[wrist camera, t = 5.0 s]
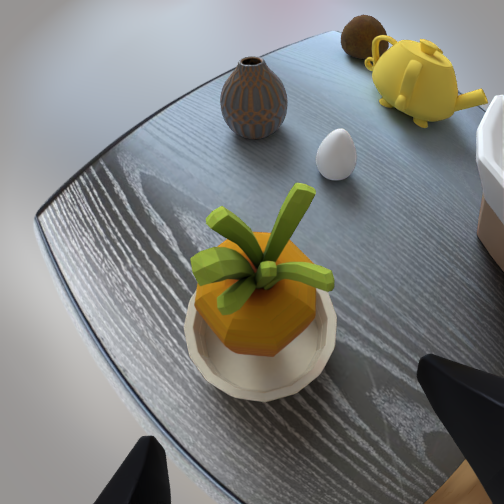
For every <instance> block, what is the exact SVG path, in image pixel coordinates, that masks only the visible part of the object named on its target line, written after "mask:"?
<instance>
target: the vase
mask: <svg viewBox="0 0 504 504" xmlns="http://www.w3.org/2000/svg"><path fill="white" fill-rule="evenodd" d="M220 104H221V111H222V115H223V117H224V120H225V122H226V123H227V125H228V126H229V127H230V129H231V130H232V131H233V132H235V133H236V134H238V135H240V136H242V137H245V138H248V139H261V138H264V137H267V136H269V135H271V134H273V133H274V132H275V131H276V130H277V129H279V127H280V126H281V124H282V123H283V121H284V119H285V116H286V112H287V94H286V91H285V88H284V85H283V83H282V82H281V80H280V79H279V78H278V77H277V75H276V74H275V73H274V72H273V71H272V70H270V69H269V68H268V66H267V65H266V63H265V61H264V60H263V59H262V58H260V57H245V58H243V59H241V60H240V61H239V62H238V65H237V67H236V69H235V70H234V72H233V73H232V74H231V75H230V76H229V78H228V79H227V80H226V82H225V84H224V86H223V89H222V92H221V99H220Z"/></svg>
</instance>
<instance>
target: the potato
mask: <svg viewBox="0 0 504 504" xmlns="http://www.w3.org/2000/svg"><path fill="white" fill-rule="evenodd" d="M380 35H386V36H387V34H386V31H385V29H384V28H383V26H382V25H381V23H380V22H379V21H378V20H376V19H375V18H374V17H372V16H368V15H361V16H357V17H354V18H353V19H352V20H351V21H350V22H349V23H348V24H347V25H346V26H345V27H344V29H343V32H342V34H341V45H342V48H343V50H344V51H345V52H346V53H347V54H348V55H350V56H352V57H355V58H359V59H367V58H368V57H372V58H373V56H372V42H373V40H374V38H375V37H377V36H380ZM388 47H389V43H388V41H385V40H381V41H380V42H379V57H381V56H382V54H383V53H384V52H386V51H387V49H388Z"/></svg>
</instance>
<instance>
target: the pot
mask: <svg viewBox="0 0 504 504" xmlns="http://www.w3.org/2000/svg"><path fill="white" fill-rule="evenodd" d="M196 291H197V290H196ZM196 291H195V293H194V294H193V296H192V297H191V299H190V301H189V306H188V310H187V315H186V320H185V324H184V332H185V337H186V342H187V347H188V352H189V356H190V358H191V360H192V361H193V362H194V364H195V365H196V367H197V368H198V370H199V371H200V373H201V374H202V375H203V377H204V378H205V380H206V381H207V382H209V383H210V384H212V385H213V386H215V387H217V388H218V389H220V390H221V391H223V392H225V393H226V394H228V395H230V396H231V397H234V398H239V399H245V400H252V401H260V402H268V401H272V400H276V399H279V398H283V397H287V396H290V395H294V394H296V393H298V392H299V391H300V390H302V389H303V388H304V387H305V386H307V385H308V384H309V383H310V382H312V381H313V380H314V379H315V378H317V377H318V376H319V375H320V374H321V373H322V371H323V369H324V367H325V365H326V364H327V362H328V360H329V358H330V356H331V354H332V352H333V350H334V348H335V341H336V328H337V316H336V313H335V310H334V307H333V304H332V301H331V299H330V296H329V293H328V292H326V291H323V290H320V289H317V288H316V316H315V319H314V320H313V321H312V322H311V323H310V325H309V326H308V327H307V328H306V329H305V330H304V331H303V332H302V333H301V334H300V335H299V336H297V337H296V338H295V339H294V340H293V341H292V342H291V343H289V344H288V345H287V346H286V347H285V348H284V349H282V350H281V351H280V352H279V353H278V354H276V355H275V356H274V357H267V356H255V355H244V354H237V353H234V352H232V351H231V350H229V349H228V348H227V347H225V346H224V344H223V343H222V342H221V341H220V339H219V338H218V337H217V336H216V334H215V333H214V332H213V331H212V329H211V328H210V327H209V325H208V324H207V323H206V322H205V320H204V319H203V318H202V316H201V315H200V314H199V313H198V311H197V310H196V308H195V306H194V303H195V297H196Z"/></svg>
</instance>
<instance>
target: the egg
mask: <svg viewBox="0 0 504 504" xmlns="http://www.w3.org/2000/svg"><path fill="white" fill-rule="evenodd" d="M356 160H357V155H356V148H355V145H354V142H353V140H352V138H351V136H350V135H349V133H348V132H347V131H346V130H344V129H336V130H334V131H333V132H331V133H330V134H329V135H328V136H327V137H326V138H325V139H324V140H323V142H322V143H321V145H320V146H319V148H318V151H317V155H316V165H317V168H318V170H319V172H320V173H321V174H322V175H323V176H324V177H325V178H327V179H330V180H342V179H345V178H347V177H348V176H349V175H350V174H351V173H352V172H353V170H354V168H355V165H356Z"/></svg>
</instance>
